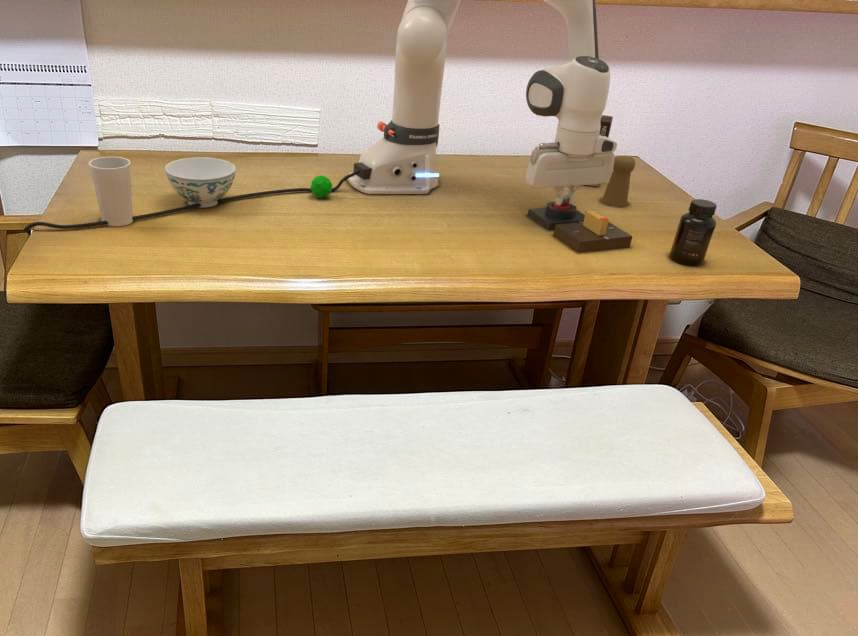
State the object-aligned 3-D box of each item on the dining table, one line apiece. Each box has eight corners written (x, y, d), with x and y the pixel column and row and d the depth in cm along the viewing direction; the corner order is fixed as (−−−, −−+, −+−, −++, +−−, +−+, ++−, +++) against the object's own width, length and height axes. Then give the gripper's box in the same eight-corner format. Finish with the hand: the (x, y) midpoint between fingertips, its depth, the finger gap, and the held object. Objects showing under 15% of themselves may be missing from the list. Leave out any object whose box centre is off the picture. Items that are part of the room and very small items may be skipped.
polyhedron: (314, 201, 172) (314, 180, 169) (307, 194, 175) (307, 173, 173) (334, 199, 173) (335, 179, 171) (327, 192, 177) (328, 172, 174)
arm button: (557, 215, 167) (559, 208, 166) (549, 210, 169) (550, 202, 168) (571, 214, 168) (573, 206, 167) (562, 208, 171) (564, 201, 170)
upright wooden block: (582, 225, 161) (586, 209, 160) (588, 224, 162) (592, 209, 160) (598, 235, 157) (602, 220, 155) (605, 235, 157) (609, 219, 155)
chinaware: (250, 204, 168) (249, 169, 164) (195, 219, 159) (192, 183, 154) (209, 186, 176) (207, 153, 172) (154, 200, 167) (151, 165, 162)
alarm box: (548, 230, 165) (551, 215, 163) (527, 216, 172) (529, 201, 170) (590, 226, 168) (593, 211, 166) (568, 212, 175) (571, 197, 173)
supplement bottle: (710, 262, 155) (729, 206, 148) (689, 268, 152) (708, 211, 145) (683, 250, 160) (700, 195, 153) (661, 256, 156) (678, 199, 149)
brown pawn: (627, 208, 180) (640, 161, 173) (602, 205, 181) (613, 158, 174) (625, 199, 185) (637, 154, 178) (600, 196, 185) (611, 151, 179)
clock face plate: (578, 253, 155) (581, 241, 153) (552, 235, 163) (554, 223, 161) (630, 248, 159) (633, 236, 158) (602, 230, 167) (605, 218, 165)
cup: (101, 229, 152) (93, 170, 145) (93, 216, 157) (85, 158, 150) (141, 224, 155) (134, 166, 148) (132, 211, 160) (125, 154, 154)
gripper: (541, 148, 154) (529, 213, 162) (624, 143, 161) (608, 205, 168) (526, 139, 159) (515, 203, 167) (606, 135, 165) (592, 196, 173)
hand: (562, 204), depth 168 cm, fingers closed, pressing on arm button
